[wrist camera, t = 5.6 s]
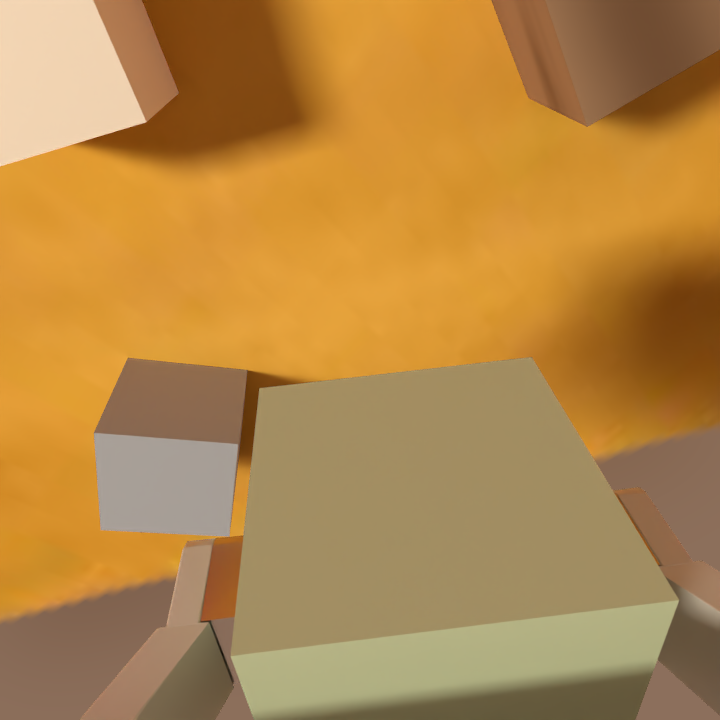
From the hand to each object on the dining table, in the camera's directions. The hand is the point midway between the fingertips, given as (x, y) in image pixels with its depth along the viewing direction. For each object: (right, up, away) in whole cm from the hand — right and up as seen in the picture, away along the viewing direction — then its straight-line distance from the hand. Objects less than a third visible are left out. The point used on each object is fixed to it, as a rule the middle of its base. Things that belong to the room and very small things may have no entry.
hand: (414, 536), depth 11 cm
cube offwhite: (-10, +14, +8) cm, 18 cm away
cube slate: (-9, +1, +16) cm, 18 cm away
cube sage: (0, +1, +1) cm, 2 cm away
